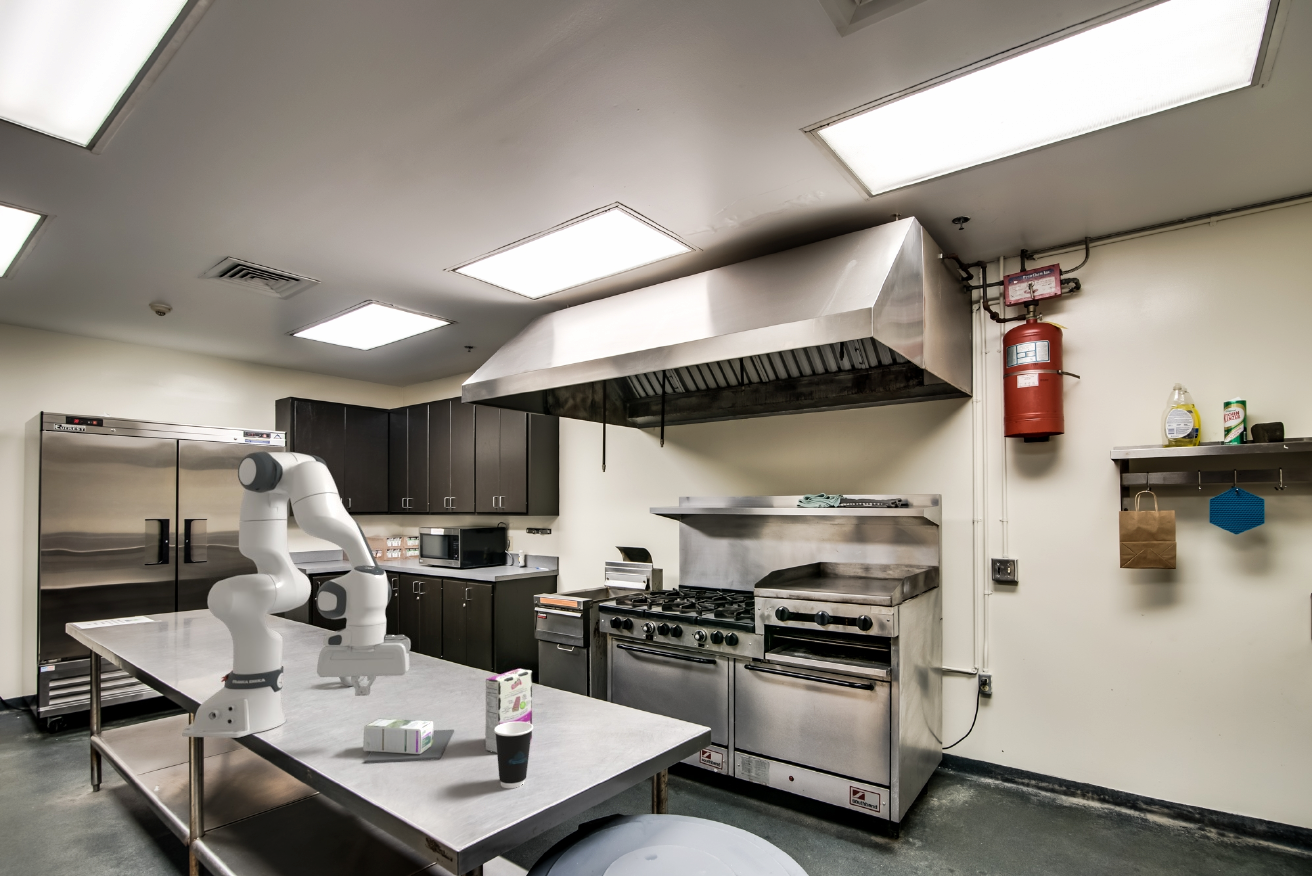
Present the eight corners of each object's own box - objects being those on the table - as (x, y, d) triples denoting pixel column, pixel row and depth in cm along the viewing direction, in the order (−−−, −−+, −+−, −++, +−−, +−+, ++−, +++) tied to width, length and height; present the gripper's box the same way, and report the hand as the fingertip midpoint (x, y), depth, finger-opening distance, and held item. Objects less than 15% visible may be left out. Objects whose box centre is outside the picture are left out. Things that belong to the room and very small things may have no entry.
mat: (364, 763, 143) (364, 760, 144) (387, 735, 161) (387, 732, 161) (439, 759, 146) (439, 756, 146) (454, 731, 163) (454, 729, 163)
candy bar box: (517, 736, 160) (518, 667, 162) (532, 739, 158) (533, 670, 159) (483, 750, 151) (485, 677, 153) (498, 755, 148) (500, 680, 150)
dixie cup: (518, 794, 128) (519, 736, 129) (484, 788, 131) (486, 731, 132) (539, 778, 135) (540, 723, 136) (507, 773, 138) (508, 719, 139)
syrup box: (362, 751, 149) (420, 756, 146) (363, 725, 149) (421, 729, 147) (377, 742, 154) (433, 746, 152) (378, 716, 155) (434, 720, 152)
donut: (342, 690, 200) (344, 657, 201) (335, 689, 202) (337, 656, 203) (370, 682, 209) (371, 650, 210) (363, 681, 211) (364, 649, 212)
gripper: (414, 632, 159) (411, 690, 158) (326, 633, 157) (322, 692, 155) (407, 637, 153) (404, 697, 152) (316, 638, 150) (312, 700, 149)
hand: (362, 695), depth 154 cm, fingers closed
